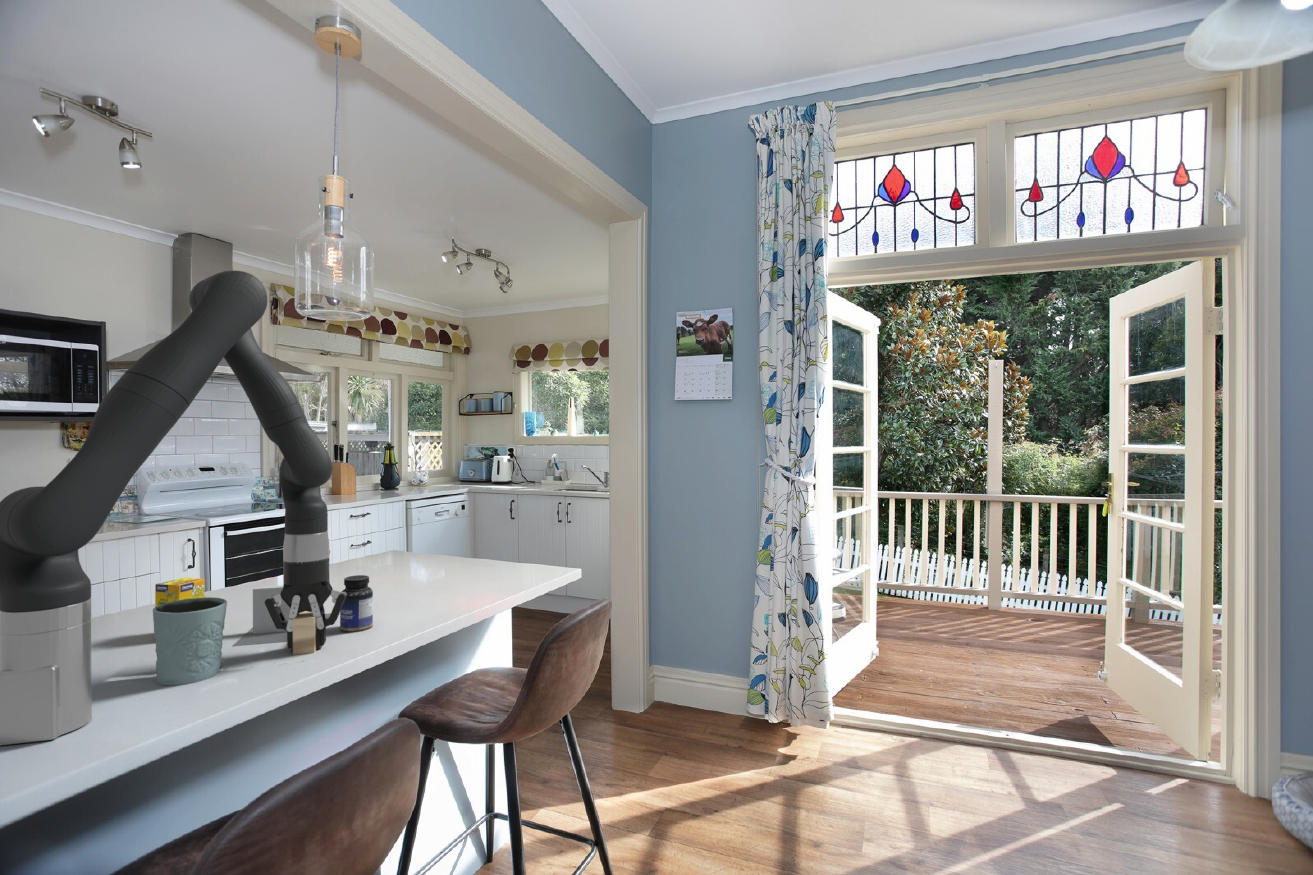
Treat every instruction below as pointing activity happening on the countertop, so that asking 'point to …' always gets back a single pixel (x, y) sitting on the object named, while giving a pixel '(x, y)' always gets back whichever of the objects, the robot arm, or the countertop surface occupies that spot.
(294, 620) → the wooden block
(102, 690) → the countertop surface
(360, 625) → the pill bottle
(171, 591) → the supplement box
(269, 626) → the tile
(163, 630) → the green embossed planter
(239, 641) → the mat
